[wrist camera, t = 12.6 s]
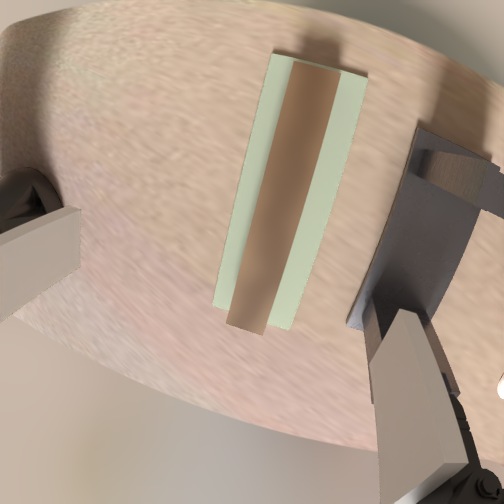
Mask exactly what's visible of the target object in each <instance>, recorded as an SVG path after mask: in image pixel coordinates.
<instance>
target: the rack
mask: <svg viewBox="0 0 504 504" xmlns="http://www.w3.org/2000/svg"><path fill="white" fill-rule="evenodd" d="M499 171H500V167H499V166H497V165H495V164H493V163H491V162H490V161H488V160H486V159H484V158H482V157H480V156H478V155H476V154H474V153H473V152H471V151H469V150H467V149H465V148H463V147H461V146H459V145H456V144H454V143H452V142H450V141H448V140H446V139H444V138H442V137H439V136H437V135H435V134H433V133H430V132H428V131H426V130H423V129H421V128H416V131H415V135H414V139H413V142H412V146H411V149H410V153H409V156H408V159H407V163H406V166H405V169H404V173H403V176H402V179H401V182H400V185H399V188H398V191H397V194H396V197H395V200H394V203H393V206H392V209H391V212H390V215H389V217H388V220H387V223H386V226H385V228H384V231H383V234H382V237H381V239H380V242H379V244H378V247H377V250H376V252H375V255H374V257H373V260H372V262H371V265H370V267H369V270H368V272H367V274H366V277H365V279H364V282H363V284H362V286H361V289H360V291H359V293H358V296H357V298H356V300H355V302H354V305H353V307H352V309H351V311H350V314H349V316H348V318H347V320H346V326H347V327H351V328H354V329H358V330H361V331H364V337H365V344H366V352H367V361H368V370H369V380H370V390H371V401H372V404H374V399H373V390H372V381H371V373H370V366H369V364H370V362H371V360H372V359H373V357H374V355H375V353H376V352H377V350H378V348H379V346H380V344H381V343H382V341H383V339H384V337H385V335H386V334H387V332H388V330H389V328H390V326H391V324H392V322H393V320H394V318H395V317H396V315H397V313H398V311H399V309H403V310H406V311H410V312H413V313H416V314H417V316H418V318H419V320H420V322H421V325H422V327H423V329H424V332H425V334H426V337H427V339H428V341H429V344H430V346H431V349H432V351H433V354H434V357H435V359H436V362H437V364H438V367H439V370H440V372H441V375H442V378H443V381H444V383H445V386H446V389H447V392H448V393H450V394H454V395H455V397H456V398H457V397H458V396H459V394H460V391H459V388H458V385H457V383H456V380H455V377H454V375H453V372H452V370H451V367H450V365H449V362H448V360H447V357H446V355H445V353H444V350H443V348H442V346H441V343H440V341H439V339H438V336H437V334H436V332H435V330H434V327H433V325H432V323H431V319H432V317H433V315H434V314H435V312H436V310H437V308H438V306H439V304H440V302H441V300H442V298H443V296H444V294H445V292H446V290H447V288H448V286H449V284H450V282H451V280H452V278H453V276H454V274H455V271H456V269H457V267H458V265H459V263H460V260H461V258H462V256H463V253H464V251H465V249H466V246H467V244H468V242H469V239H470V237H471V234H472V231H473V229H474V226H475V224H476V221H477V218H478V216H479V213H480V210H481V209H483V210H485V211H489V212H491V213H493V214H495V215H497V216H499V217H501V218H503V219H504V174H502V173H500V172H499Z"/></svg>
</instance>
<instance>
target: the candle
mask: <svg viewBox="0 0 504 504" xmlns="http://www.w3.org/2000/svg"><path fill="white" fill-rule="evenodd" d="M498 394H499V396H500V397H501V398H502V399H504V374H503V376H502V377H501V379H500V381H499V384H498Z"/></svg>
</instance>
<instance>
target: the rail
mask: <svg viewBox="0 0 504 504" xmlns="http://www.w3.org/2000/svg"><path fill="white" fill-rule="evenodd" d="M340 77H341V73H339V72H336V71H332V70H329V69H325V68H321V67H318V66H314V65H310V64H306V63H302V62H297V61H294V62H293V66H292V69H291V73H290V77H289V81H288V84H287V88H286V92H285V96H284V100H283V103H282V107H281V111H280V115H279V118H278V122H277V126H276V130H275V134H274V138H273V141H272V145H271V149H270V153H269V157H268V160H267V164H266V168H265V172H264V176H263V180H262V184H261V187H260V191H259V195H258V199H257V203H256V207H255V211H254V215H253V218H252V222H251V226H250V230H249V234H248V238H247V242H246V246H245V250H244V254H243V258H242V262H241V266H240V269H239V273H238V277H237V281H236V285H235V289H234V293H233V297H232V301H231V305H230V309H229V313H228V317H227V321H226V324H229V325H232V326H235V327H238V328H241V329H244V330H247V331H250V332H253V333H256V334H259V335H262V336H263V333H264V330H265V327H266V324H267V321H268V318H269V315H270V312H271V309H272V306H273V303H274V300H275V297H276V294H277V291H278V288H279V285H280V282H281V279H282V276H283V272H284V269H285V266H286V263H287V260H288V257H289V254H290V250H291V247H292V244H293V241H294V238H295V234H296V231H297V228H298V225H299V221H300V218H301V215H302V212H303V208H304V205H305V202H306V198H307V195H308V192H309V188H310V185H311V181H312V178H313V175H314V171H315V168H316V164H317V161H318V157H319V154H320V150H321V147H322V143H323V140H324V136H325V132H326V129H327V125H328V122H329V118H330V114H331V111H332V107H333V103H334V99H335V96H336V92H337V88H338V84H339V80H340Z"/></svg>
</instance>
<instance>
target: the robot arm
mask: <svg viewBox="0 0 504 504" xmlns="http://www.w3.org/2000/svg"><path fill="white" fill-rule="evenodd" d="M80 228H81V209H78V208H75V207H72V206H66V207H64V208H62V205H61V203H60V200H59V198H58V196H57V194H56V192H55V190H54V188H53V187H52V185H51V184H50V182H49V181H48V180H47V179H46V177H45V176H44V175H42V174H41V173H40V172H38V171H37V170H35V169H32V168H21V169H17V170H13V171H10V172H8V173H6V174H5V175H3V176H2V177H0V323H1V322H2V321H4V320H5V319H6V318H8V317H9V316H10V315H12V314H13V313H14V312H16V311H17V310H19V309H20V308H21V307H23V306H24V305H25V304H27V303H28V302H30V301H31V300H32V299H34V298H35V297H37V296H38V295H40V294H41V293H42V292H44V291H45V290H47V289H48V288H50V287H51V286H53V285H54V284H56V283H57V282H59V281H60V280H62V279H63V278H64V277H66V276H67V275H69V274H71V273H72V272H74V271H75V270H77V269H78V268H80ZM369 366H370V373H371V381H372V390H373V399H374V408H375V418H376V430H377V442H378V458H379V478H380V504H504V489H502V486H501V483H500V481H499V479H498V477H497V476H496V475H495V474H494V473H493V472H491V471H489V470H487V469H482V468H481V465H480V461H479V457H478V454H477V450H476V447H475V444H474V440H473V437H472V434H471V432H470V431H469V430H470V427H469V424H468V421H466V419H467V418H466V415H465V412H464V410H463V407H462V405H461V404H460V402H459V401H458V399H457V398H456V397H455V395H454V394H450V393H448V392H447V389H446V386H445V383H444V381H443V378H442V375H441V372H440V370H439V367H438V364H437V362H436V359H435V357H434V354H433V351H432V349H431V346H430V344H429V341H428V339H427V337H426V334H425V332H424V329H423V327H422V325H421V322H420V320H419V318H418V316H417V314H416V313H413V312H410V311H406V310H403V309H399V311H398V313H397V315H396V317H395V318H394V320H393V322H392V324H391V326H390V328H389V330H388V332H387V334H386V335H385V337H384V339H383V341H382V343H381V344H380V346H379V348H378V350H377V352H376V353H375V355H374V357H373V359H372V360H371V362H370V364H369Z"/></svg>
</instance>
